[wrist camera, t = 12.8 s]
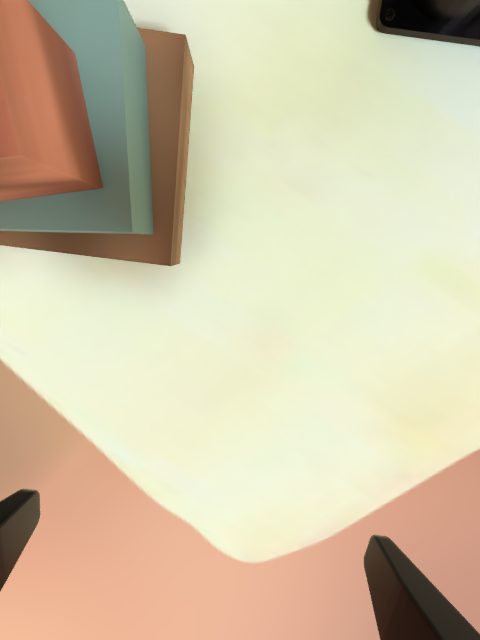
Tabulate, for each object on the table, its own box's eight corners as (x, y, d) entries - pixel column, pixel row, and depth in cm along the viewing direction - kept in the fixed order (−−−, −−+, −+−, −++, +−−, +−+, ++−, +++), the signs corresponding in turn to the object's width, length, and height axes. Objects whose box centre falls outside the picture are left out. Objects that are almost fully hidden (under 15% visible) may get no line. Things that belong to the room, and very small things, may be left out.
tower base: (195, 73, 16) (185, 34, 13) (182, 262, 18) (170, 266, 16) (6, 47, 16) (-48, 2, 13) (17, 242, 18) (-26, 241, 15)
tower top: (145, 45, 13) (117, -12, 10) (153, 234, 15) (132, 232, 12) (-37, 40, 13) (-116, -17, 10) (-6, 230, 15) (-65, 227, 12)
